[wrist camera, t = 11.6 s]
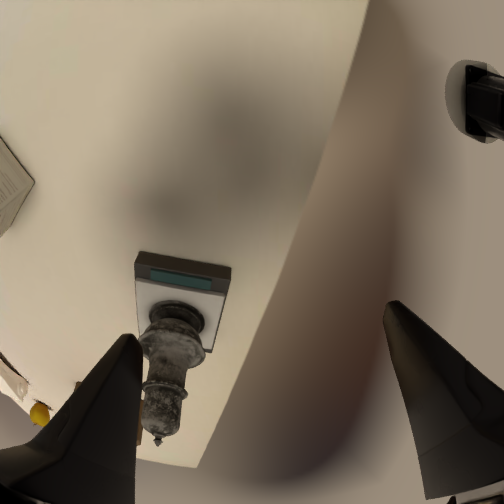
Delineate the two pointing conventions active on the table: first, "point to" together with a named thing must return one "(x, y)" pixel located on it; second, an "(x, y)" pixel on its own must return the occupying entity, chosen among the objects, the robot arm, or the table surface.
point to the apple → (39, 414)
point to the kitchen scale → (181, 289)
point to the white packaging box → (11, 187)
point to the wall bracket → (12, 383)
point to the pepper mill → (169, 363)
